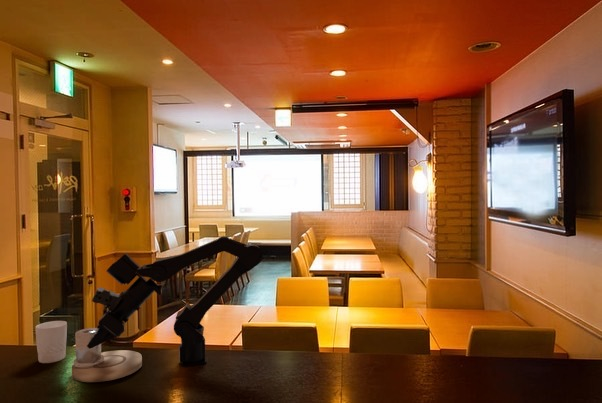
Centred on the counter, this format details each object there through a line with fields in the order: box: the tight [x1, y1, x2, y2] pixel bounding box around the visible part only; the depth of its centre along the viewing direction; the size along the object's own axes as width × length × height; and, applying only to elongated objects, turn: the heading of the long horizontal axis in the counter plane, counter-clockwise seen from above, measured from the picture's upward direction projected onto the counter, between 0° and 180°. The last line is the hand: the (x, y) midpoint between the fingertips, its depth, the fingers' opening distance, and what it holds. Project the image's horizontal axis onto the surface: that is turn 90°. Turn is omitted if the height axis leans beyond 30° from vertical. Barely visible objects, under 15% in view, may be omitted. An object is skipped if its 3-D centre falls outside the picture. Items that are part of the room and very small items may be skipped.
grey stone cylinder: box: [73, 327, 104, 369], centre depth 114 cm, size 7×7×9 cm
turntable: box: [71, 349, 143, 383], centre depth 116 cm, size 17×17×2 cm
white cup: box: [34, 320, 68, 364], centre depth 125 cm, size 8×8×10 cm
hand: (90, 342), depth 114 cm, fingers open, 9 cm apart
